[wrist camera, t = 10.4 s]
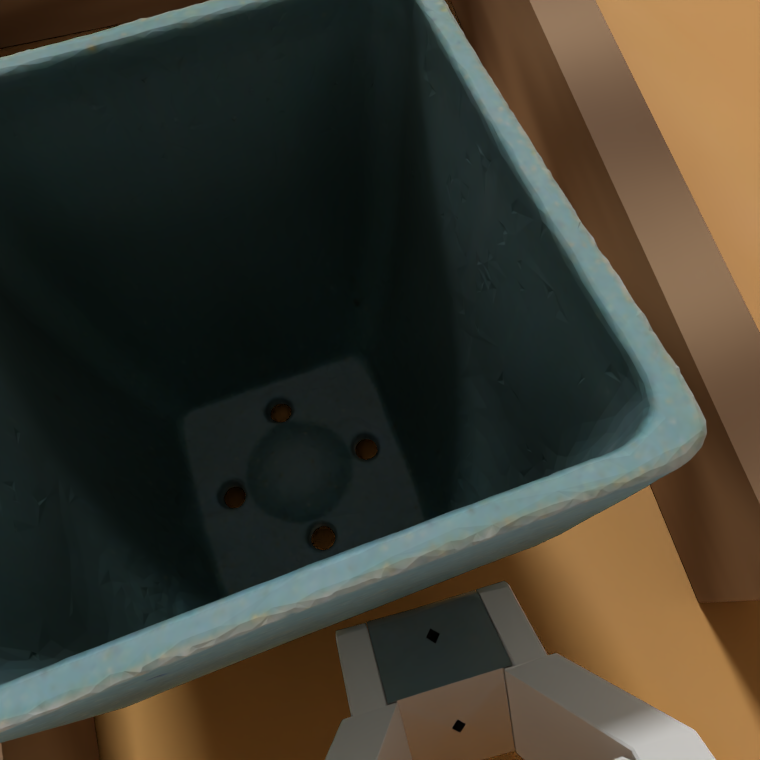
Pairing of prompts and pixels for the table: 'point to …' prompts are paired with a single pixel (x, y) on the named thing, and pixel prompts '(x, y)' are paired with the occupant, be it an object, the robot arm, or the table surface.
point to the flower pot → (286, 342)
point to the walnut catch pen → (613, 238)
